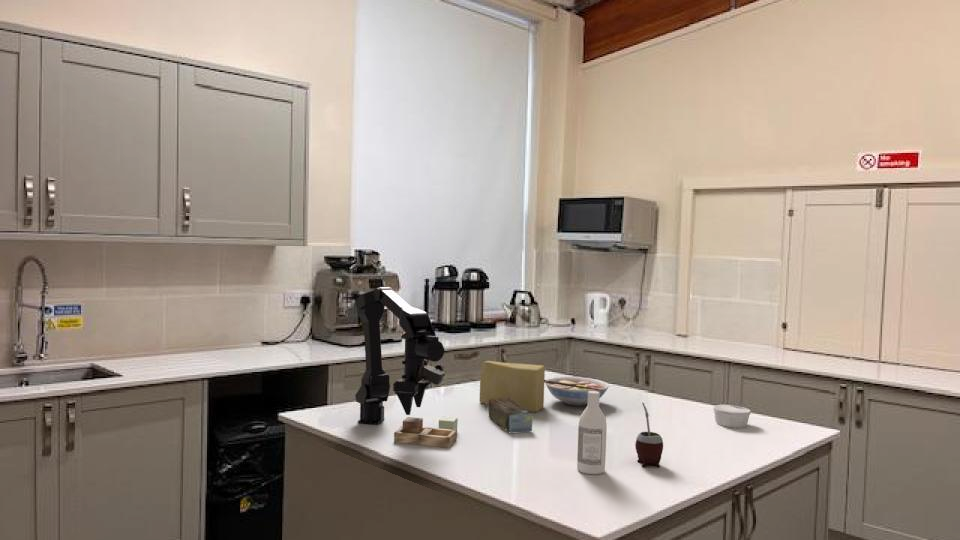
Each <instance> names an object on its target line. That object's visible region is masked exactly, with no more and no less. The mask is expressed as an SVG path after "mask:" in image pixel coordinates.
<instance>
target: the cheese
mask: <svg viewBox="0 0 960 540" xmlns="http://www.w3.org/2000/svg"><path fill="white" fill-rule="evenodd" d="M481 365H482V366H481V372H480V380H479V381H480V382H479V403H480V402H481V403H480V404H482V403H487V404H486V405H488V404H489V400H490V399H491V400H492V399H507V398H511V399H512V400H514V401H515V402H517V403H518V404H520V405H521V406H522V407H524V408H525V409H527V410H528V411H529V412H531V413H538V412H539V411H540V410H542V409H543V407H544V404H545V402H544V401H545V383H544V380H545V377H546V375H545V373H546V372H545V371H546V369H545V365H540V364H539V365H538V364H530V363H529V364H528V363H512V362H501V361H493V360H486V361H484V362H482V364H481Z"/></svg>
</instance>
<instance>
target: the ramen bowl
mask: <svg viewBox="0 0 960 540" xmlns="http://www.w3.org/2000/svg"><path fill="white" fill-rule="evenodd" d="M544 384H545V386H546V387H547V389H548V391H549V392H550V394H551V396H553V397H554V398H555V399H557V400H559V401H560V402H564V404H566V405H569V406H575V407H582V406H583V407H584V406H586V405H588V392H589V391H597V392H599V393H600V399H601V398H602V396H604V394H605V393H606V392H607V391H608V389H609V387H610V384H609V383H608V382H606V381H603V380H601V379H596V378H591V377H580V376H558V377H557V376H556V377H551V378H547V379H544Z"/></svg>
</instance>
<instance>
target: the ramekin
mask: <svg viewBox="0 0 960 540" xmlns="http://www.w3.org/2000/svg"><path fill="white" fill-rule="evenodd" d="M713 411H714V419H715V420H714V421H715V423H716V424H717V425H719V426H722V427H725V428H731V429H744V428H745V427H746V426H747V425H748V424H749V420H750V415H751V410H750V409H749V408H747V407H743V406H739V405H733V404H717V405H714V406H713Z"/></svg>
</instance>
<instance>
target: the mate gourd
mask: <svg viewBox="0 0 960 540" xmlns="http://www.w3.org/2000/svg"><path fill="white" fill-rule="evenodd" d="M641 404H642V406H643V407H642V408H643V409H644V412H645V413H644V414H645V418H646V426H647V431H641V432H640V433H638V435H637V436H636V441H635V444H634V445H635V451H636V454H637V458H638V459H637V460H636V461H637V463H639V464H641V467H642V468H647V467H648V466H651V467H654V468H658V469H659V468H661V465H660V462H661V460H662V455H663V450H664V442H663V438H662V436H661V435H660V434H659V433H658V432H653V431H651V429H650V421H649V420H650V419H649V413H648V409H647V407H646V405H645V403H644V402H641Z"/></svg>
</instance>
